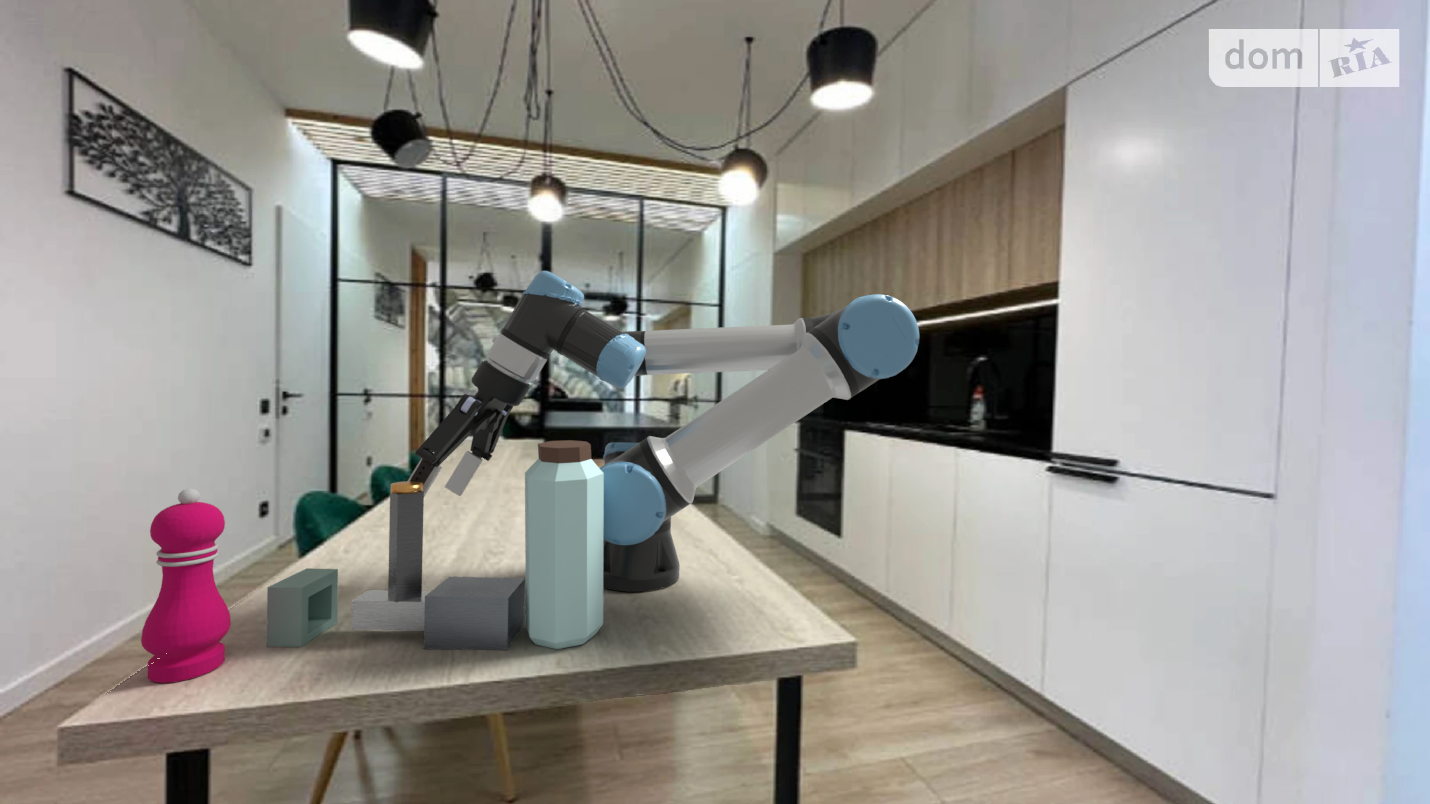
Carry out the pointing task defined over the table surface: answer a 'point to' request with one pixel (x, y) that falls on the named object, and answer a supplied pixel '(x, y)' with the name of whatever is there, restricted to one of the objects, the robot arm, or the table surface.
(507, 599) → the charcoal rectangular brick
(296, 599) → the socket block
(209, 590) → the pepper mill
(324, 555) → the table surface
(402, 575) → the gray hammer
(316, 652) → the table surface
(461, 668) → the table surface
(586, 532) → the water bottle
